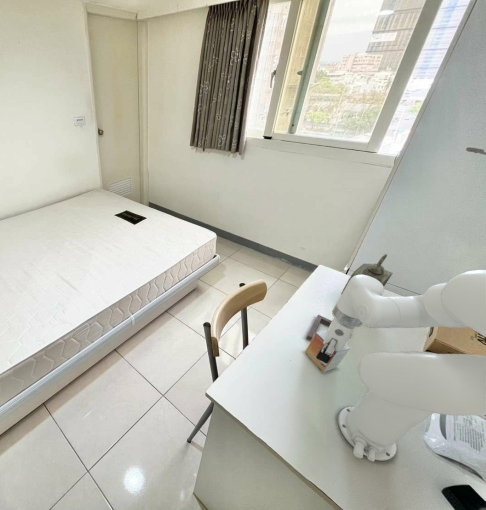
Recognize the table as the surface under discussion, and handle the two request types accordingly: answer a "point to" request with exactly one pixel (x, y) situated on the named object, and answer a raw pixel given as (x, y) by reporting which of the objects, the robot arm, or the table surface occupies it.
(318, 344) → the small box
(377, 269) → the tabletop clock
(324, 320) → the corner stop
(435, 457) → the table surface
